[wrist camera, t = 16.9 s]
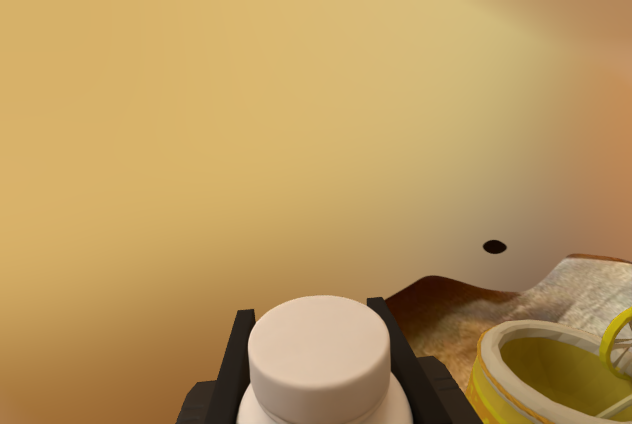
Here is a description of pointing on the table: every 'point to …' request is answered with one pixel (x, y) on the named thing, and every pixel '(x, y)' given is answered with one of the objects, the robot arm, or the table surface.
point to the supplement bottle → (322, 366)
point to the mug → (552, 374)
